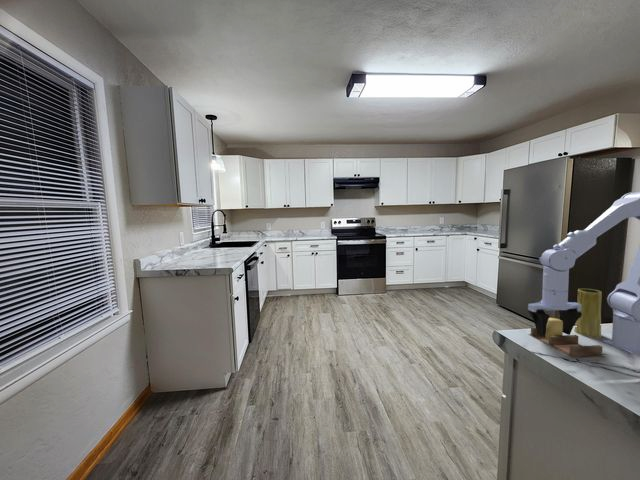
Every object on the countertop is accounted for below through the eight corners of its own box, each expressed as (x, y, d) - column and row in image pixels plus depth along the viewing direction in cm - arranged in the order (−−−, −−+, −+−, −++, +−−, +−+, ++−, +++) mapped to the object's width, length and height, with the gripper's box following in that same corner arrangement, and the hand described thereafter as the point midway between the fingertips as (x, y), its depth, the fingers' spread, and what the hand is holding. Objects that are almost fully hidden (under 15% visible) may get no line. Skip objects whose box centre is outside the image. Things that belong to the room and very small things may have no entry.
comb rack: (555, 334, 84) (555, 325, 84) (605, 358, 70) (606, 347, 69) (527, 335, 84) (528, 326, 84) (572, 359, 69) (572, 348, 69)
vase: (607, 339, 80) (609, 293, 79) (583, 338, 81) (585, 292, 80) (591, 331, 86) (593, 288, 85) (569, 330, 87) (570, 287, 86)
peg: (553, 336, 82) (554, 317, 82) (566, 342, 78) (566, 322, 78) (541, 336, 82) (541, 318, 82) (552, 342, 78) (553, 323, 78)
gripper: (566, 285, 83) (564, 327, 84) (520, 287, 83) (519, 329, 84) (589, 291, 76) (587, 337, 77) (539, 293, 76) (538, 338, 77)
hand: (553, 333), depth 80 cm, fingers open, 7 cm apart
